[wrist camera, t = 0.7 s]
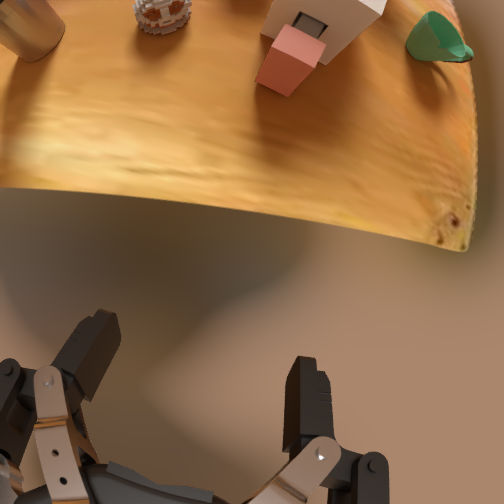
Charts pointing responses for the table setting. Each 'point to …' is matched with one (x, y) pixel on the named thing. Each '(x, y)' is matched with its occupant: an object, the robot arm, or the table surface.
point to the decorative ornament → (161, 15)
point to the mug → (437, 41)
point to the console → (325, 20)
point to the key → (292, 56)
